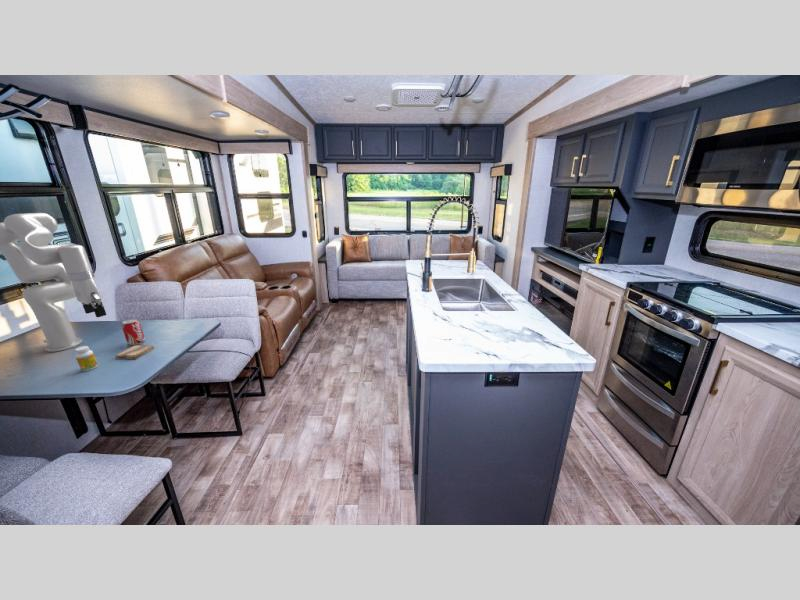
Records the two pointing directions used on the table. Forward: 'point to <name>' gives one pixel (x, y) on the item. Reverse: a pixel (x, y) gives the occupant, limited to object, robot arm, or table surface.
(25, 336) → the table surface
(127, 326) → the soda can
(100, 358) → the table surface
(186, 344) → the table surface
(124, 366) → the table surface
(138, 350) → the tray
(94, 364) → the supplement bottle
